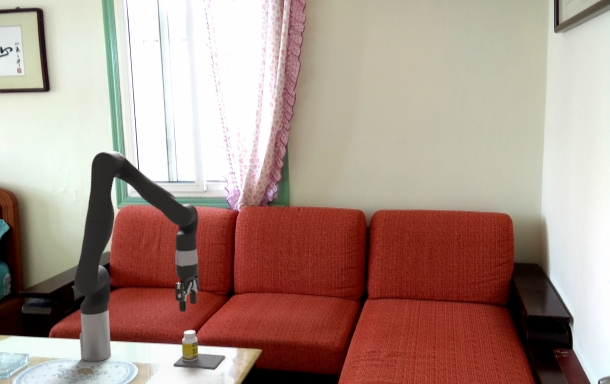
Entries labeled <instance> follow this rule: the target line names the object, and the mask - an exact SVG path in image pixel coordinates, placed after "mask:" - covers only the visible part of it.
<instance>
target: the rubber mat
mask: <svg viewBox="0 0 610 384" xmlns="http://www.w3.org/2000/svg"><path fill="white" fill-rule="evenodd" d="M224 357H225V358H226V355H222V354H221V355H220V354H211V353H208V354H207V353H198V358H197V359H196V360H195V361H184V360H183V356H181V357H180V358H178V360H176V361H175V362H174V363H173V366H174V367H185V368H196V369H208V370H209V369H210V370H215V369H216V368H217V367H218V366H219V364H220V363H222V361H223V360H224V359H225V358H224ZM223 358H224V359H223Z"/></svg>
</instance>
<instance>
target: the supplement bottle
mask: <svg viewBox="0 0 610 384" xmlns="http://www.w3.org/2000/svg"><path fill="white" fill-rule="evenodd" d="M198 343H199V340H198V338H197V336H196V331H195V330H193V329H188V330H185V331H183V338H182V341H181V350H182V351H181V352H182V353H181V354H182V356H183V360H184V361H195V360H196V359H197V358H198V354H199V348H198V347H199V345H198ZM182 356H181V357H182Z"/></svg>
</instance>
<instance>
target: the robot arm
mask: <svg viewBox="0 0 610 384" xmlns="http://www.w3.org/2000/svg"><path fill="white" fill-rule="evenodd" d="M90 168H91V169H90V172H91V173H90V190H89V197H88V204H87V210H86V218H85V223H84V230H83V231H84V233H83V239H82V244H81V250H80V255H79V261H78V264H77V268H76V271H75V275H74V281H73V283H74V287H75V288H74V289H76V291H77V293H78V294H80V295H81V296H84V299H83V301H82V302H81V304H80V317H81V320H80V321H81V332H80V333H79V343H80V346H79V347H80V359H82V360H84V361H86V362H90V363H93V362H100V361H103V360H106V359H108V358H110V357H111V356H112V350H111V349H112V348H111V334H110V333H111V331H110V318H109V303H110V300H111V288H110V287H111V281H110V280H111V279H110V275H109V271H108V270H107V268H106V267H105V266H103V265H101V264H100V262H101V259H102V255H103V254H104V251H105V250H106V248H107V245H108V244H109V241H110V239H111V237H112V235H113V229H114V225H115V224H114V223H115V210H114V209H115V208H114V206H113V200H112V189H113V183H114V180H115V178H116V179H119V180H120V181H122V182H125V183H126V184H128V185H129V186H131V187H132V188H133V189H134V190H135V191H136V192H137V194H138V195H139V196H140V197H141V198H142V199H143V200H144V201H146V202H147V203H148V204H149V205H150V206H152V207H154V208H156V209H157V210H158V211H160V212H161V213H162V214H163V215H164V216H165V217H166V218H167V219H168V220H169V221H170V222H172V223H173V224H174V225H176V226H178V232H177V233H176V235H175V276H176V277H177V278H179V279H180V280H179V282H176V283H175V284H174V285H175V289H174V291H175V294H174V296H175V301H178V302H179V304H178V306H179V307H178V308H179V312H180V313H181V312H186V311H187V296H188V295H189V300H190V301H189V303H190V304H191V305H192V304H194V305H195V304H197V300H198V299H197V294H198V291H200V279H199V278H200V275H199V263H198V261H199V259H198V258H199V257H198V249H197V231H198V224H199V214H198V210H197V208H196V206H194V205H193V204H191V203H184V204H181V203H180V202H178V200H176V197H175V195H173V194H172V193H171V192H170V191H168V190H167V189H165V188H164V187H163V186H161V185H160V184H158V183H157V182H155V181H154V180H152V179H150V177H148V176H147V175H145V173H143V172H142V171H140V170H139V169H138V168H137V167H136V166H135V165H133V163H131V162H130V160H129V159H127V158H126V157H125V156H124V155H123V154H122V153H121V152H119V151H115V150H108V151H100V152H99V153H97V154H95V156H94V157H93V159H92V162H91V167H90Z"/></svg>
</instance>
